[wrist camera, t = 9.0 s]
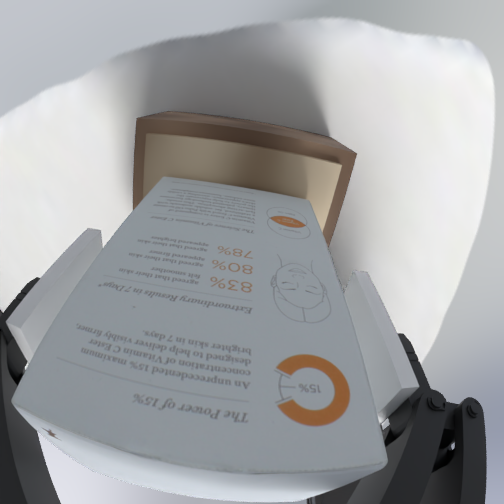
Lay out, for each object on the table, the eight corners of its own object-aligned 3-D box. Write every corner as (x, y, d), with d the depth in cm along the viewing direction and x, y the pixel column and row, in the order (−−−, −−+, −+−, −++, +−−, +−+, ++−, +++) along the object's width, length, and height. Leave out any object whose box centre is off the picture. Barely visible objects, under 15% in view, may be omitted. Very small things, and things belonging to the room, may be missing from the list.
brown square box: (160, 250, 24) (135, 296, 19) (168, 111, 18) (133, 118, 13) (294, 271, 25) (302, 322, 20) (330, 137, 19) (359, 155, 14)
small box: (160, 268, 18) (86, 471, 7) (162, 173, 14) (0, 400, 3) (285, 289, 18) (299, 504, 7) (313, 198, 15) (397, 465, 4)
